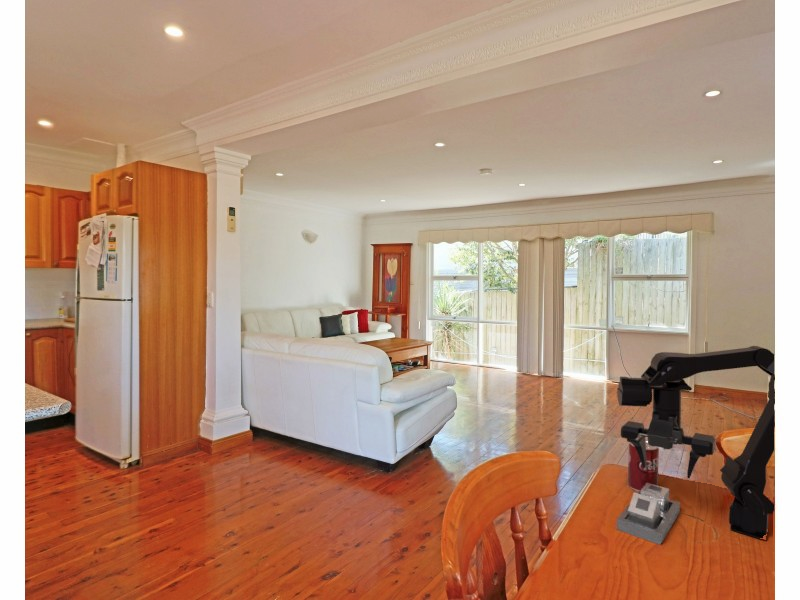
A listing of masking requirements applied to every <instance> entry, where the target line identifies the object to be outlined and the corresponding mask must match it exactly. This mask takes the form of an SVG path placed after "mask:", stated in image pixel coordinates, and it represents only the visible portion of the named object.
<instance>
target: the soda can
mask: <svg viewBox="0 0 800 600" xmlns="http://www.w3.org/2000/svg"><path fill="white" fill-rule="evenodd" d="M659 448H660V447H657V446H654V447H653V446H650V445H649V444H648V440H646V467H645V468H643V466H642V463H641V460H640V458H639V455H638V452H637V450H636V448H635V446H634V445H633V444H632V443H631V442H628V451H627V452H628V455H627V458H628V459H627V485H628V486H629V488H631V490H634V491H636V492H638V493H639V491H641V489H642V488H643V487H644V486H645V484H646V483H650V484H653V485H657V486H659V485H658V484H659V462H660V461H659V460H660V459H659V458H660V449H659Z"/></svg>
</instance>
